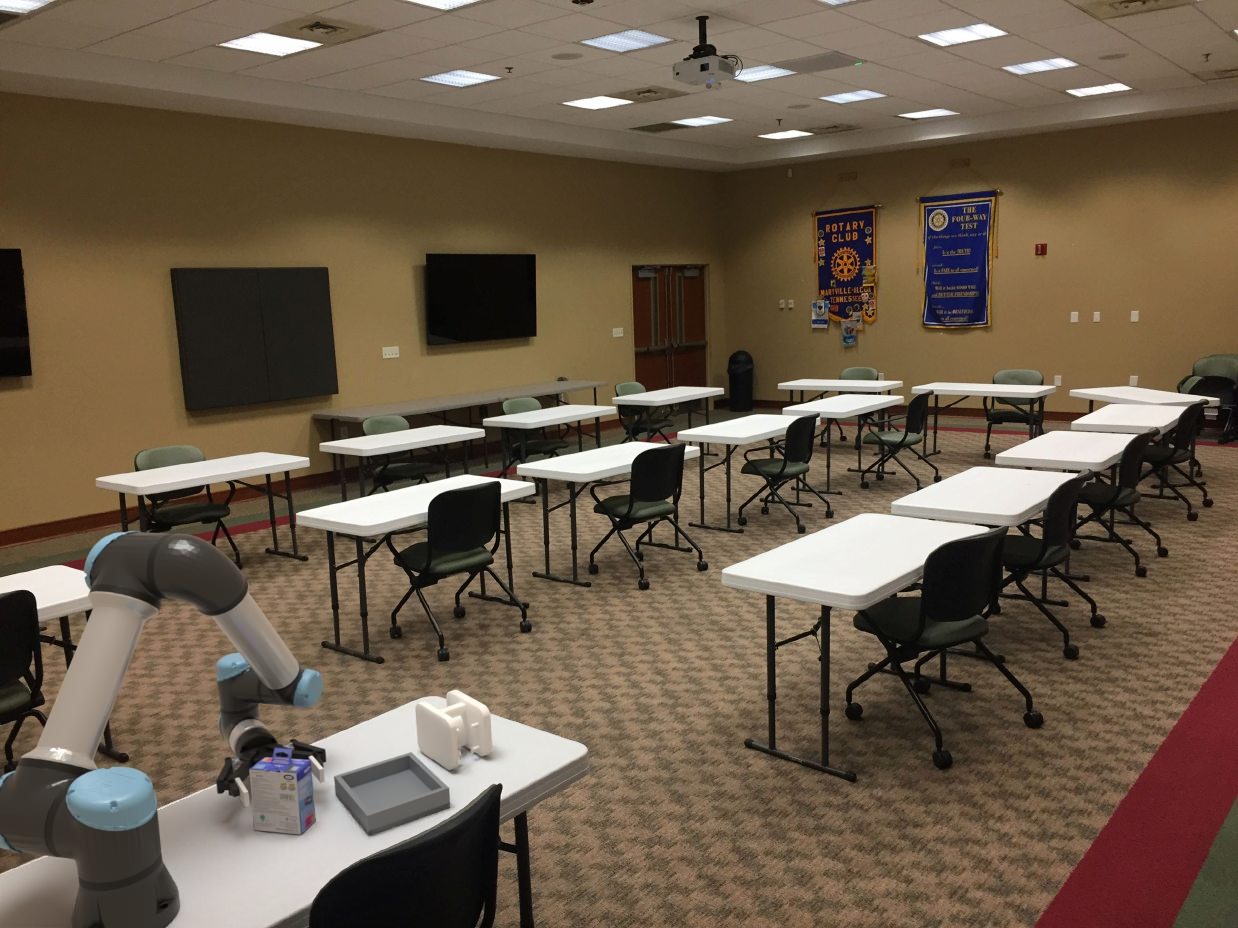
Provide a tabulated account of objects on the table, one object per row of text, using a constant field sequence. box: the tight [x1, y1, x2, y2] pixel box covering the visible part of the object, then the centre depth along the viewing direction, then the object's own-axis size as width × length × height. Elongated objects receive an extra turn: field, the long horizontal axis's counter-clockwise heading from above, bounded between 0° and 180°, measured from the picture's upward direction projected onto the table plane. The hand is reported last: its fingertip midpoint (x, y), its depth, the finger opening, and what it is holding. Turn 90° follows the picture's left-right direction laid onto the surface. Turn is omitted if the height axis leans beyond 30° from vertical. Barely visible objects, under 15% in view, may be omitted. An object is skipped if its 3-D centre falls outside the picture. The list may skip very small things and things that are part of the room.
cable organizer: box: [415, 689, 493, 771], centre depth 199 cm, size 15×11×12 cm
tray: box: [333, 751, 451, 837], centre depth 182 cm, size 16×18×4 cm
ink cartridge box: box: [249, 748, 316, 835], centre depth 173 cm, size 10×6×14 cm, turn 78°
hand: (285, 787), depth 173 cm, fingers open, 13 cm apart
